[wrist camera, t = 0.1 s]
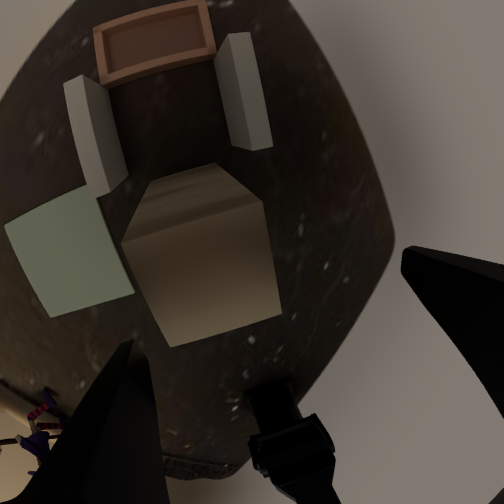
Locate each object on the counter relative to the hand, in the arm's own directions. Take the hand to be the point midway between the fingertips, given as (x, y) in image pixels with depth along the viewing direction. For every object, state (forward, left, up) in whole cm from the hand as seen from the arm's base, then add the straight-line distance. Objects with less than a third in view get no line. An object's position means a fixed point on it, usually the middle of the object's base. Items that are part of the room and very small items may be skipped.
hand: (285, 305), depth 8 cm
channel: (+7, +2, -15) cm, 16 cm away
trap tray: (+13, +2, -15) cm, 20 cm away
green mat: (-1, +14, -15) cm, 20 cm away
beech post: (0, +2, -15) cm, 15 cm away
